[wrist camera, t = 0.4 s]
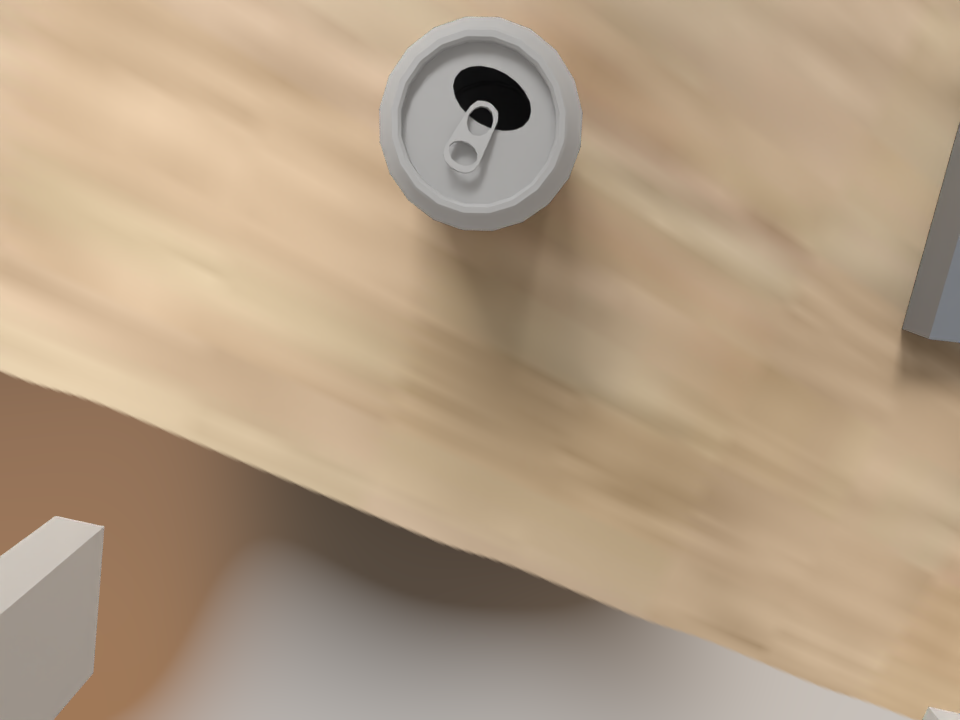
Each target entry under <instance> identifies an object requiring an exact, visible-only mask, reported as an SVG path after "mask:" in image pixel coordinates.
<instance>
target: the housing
mask: <svg viewBox="0 0 960 720" xmlns="http://www.w3.org/2000/svg"><path fill="white" fill-rule="evenodd" d="M902 329H903V330H906V331H909V332H911V333H914V334H917V335H919V336H922V337H925V338H927V339H933V340H941V341H950V342H958V343H960V124H959V128H958V131H957V135H956V138H955V142H954V145H953V149H952V153H951V156H950V160H949V163H948V167H947V170H946V174H945V178H944V181H943V185H942V188H941V192H940V195H939V199H938V203H937V206H936V210H935V213H934V217H933V220H932V224H931V227H930V231H929V235H928V238H927V242H926V245H925V249H924V252H923V256H922V260H921V263H920V267H919V270H918V274H917V277H916V281H915V285H914V288H913V292H912V295H911V299H910V302H909V306H908V310H907V313H906V317H905V320H904V324H903V327H902Z"/></svg>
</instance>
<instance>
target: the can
mask: <svg viewBox="0 0 960 720" xmlns="http://www.w3.org/2000/svg"><path fill="white" fill-rule="evenodd" d="M379 111H380V144H381V147H382V150H383V154H384V157H385V160H386V163H387V166H388V169H389V172H390V175H391V176H392V177H393V179H394V180H395V182H396V183H397V185H398V186H399V188H400V189H401V190H402V192H403V193H404V195H405V196H406V198H407V199H408V200H409V201H410V202H411V203H413V204H414V205H415V206H416V207H418V208H419V209H420V210H422V211H423V212H424V213H425V214H427V215H428V216H429V217H431V218H432V219H433V220H436V221H439V222H442V223H444V224H447V225H450V226H453V227H455V228H458V229H461V230H481V231H494V230H498V229H501V228H504V227H508V226H511V225H514V224H518V223H521V222H523V221H525V220H526V219H528V218H529V217H531V216H532V215H534V214H535V213H536V212H538V211H539V210H541V209H542V208H544V207H545V206H547V205H548V204H549V203H550V202H551V201H552V199H553V198H554V197H555V195H556V194H557V193H558V191H559V190H560V189H561V188H562V186H563V185H564V184H565V182H566V181H567V180H568V179H569V176H570V174H571V171H572V168H573V166H574V163H575V160H576V158H577V155H578V152H579V150H580V147H581V131H582V114H583V113H582V109H581V105H580V101H579V97H578V92H577V88H576V84H575V80H574V78H573V77H572V75H571V73H570V72H569V70H568V69H567V67H566V65H565V64H564V62H563V60H562V59H561V57H560V56H559V54H558V52H557V51H556V50H555V49H554V48H553V47H552V46H550V45H549V44H548V43H547V42H546V41H544V40H543V39H542V38H541V37H540V36H538V35H537V34H536V33H535V32H534V31H532V30H531V29H529V28H527V27H524V26H521V25H519V24H516V23H513V22H511V21H508V20H505V19H503V18H500V17H464V18H461V19H458V20H455V21H452V22H449V23H446V24H443V25H440V26H437V27H434V28H433V29H432V30H430V31H429V32H428V33H427V34H425V35H424V36H423V37H421V38H420V39H419V40H418V41H416V42H415V43H414V44H412V45H411V46H410V47H409V48H408V49H407V50H406V52H405V53H404V55H403V56H402V58H401V59H400V60H399V62H398V63H397V65H396V66H395V68H394V69H393V71H392V72H391V74H390V75H389V78H388V81H387V85H386V88H385V92H384V95H383V98H382V102H381V105H380V109H379Z"/></svg>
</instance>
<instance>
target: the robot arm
mask: <svg viewBox="0 0 960 720" xmlns="http://www.w3.org/2000/svg"><path fill="white" fill-rule="evenodd" d="M103 536H104V526H99V525H95V524H90V523H86V522H81V521H77V520H72V519H67V518H63V517H58V516H55V517H53V518H52V519H51V520H49V521H48V522H47V523H46V524H44V525H42V526H41V527H40V528H38V529H37V530H36V531H34V532H33V533H32V534H30V535H29V536H28V537H26V538H25V539H23V540H22V541H21V542H19V543H18V544H17V545H15V546H14V547H12V548H11V549H10V550H8V551H7V552H6V553H4V554H3V555H2V556H0V720H54V718H55V717H56V716H57V715H58V714H59V712H60V711H61V710H62V709H63V707H65V706H66V704H67V703H68V702H69V701H70V699H71V698H72V697H73V696H74V695H75V694H76V693H77V691H78V690H79V689H80V688H81V687H82V686H83V684H84V683H85V682H86V681H87V680H88V679H89V677H90V676H91V675H92V674H93V668H94V656H95V655H94V654H95V642H96V628H97V616H98V603H99V588H100V576H101V563H102V550H103ZM922 720H960V713H955V712H950V711H946V710H941V709H937V708H932V707H928V709H927V711H926V713H925V715H924V717H923V719H922Z"/></svg>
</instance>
